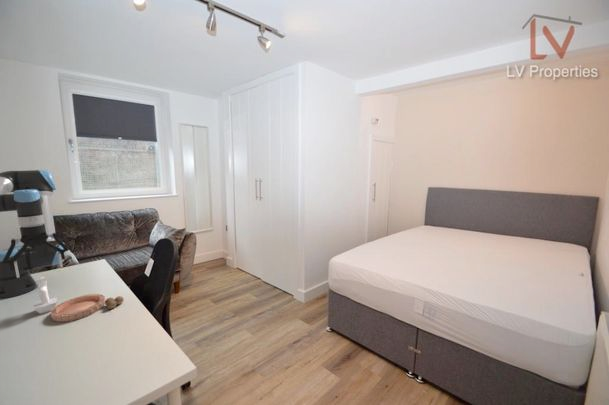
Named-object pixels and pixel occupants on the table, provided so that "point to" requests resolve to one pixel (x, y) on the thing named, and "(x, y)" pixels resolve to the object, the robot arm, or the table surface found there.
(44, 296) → the figurine
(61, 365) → the table surface
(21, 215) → the robot arm
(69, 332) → the table surface
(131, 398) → the table surface
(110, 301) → the wooden beads
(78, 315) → the dish
